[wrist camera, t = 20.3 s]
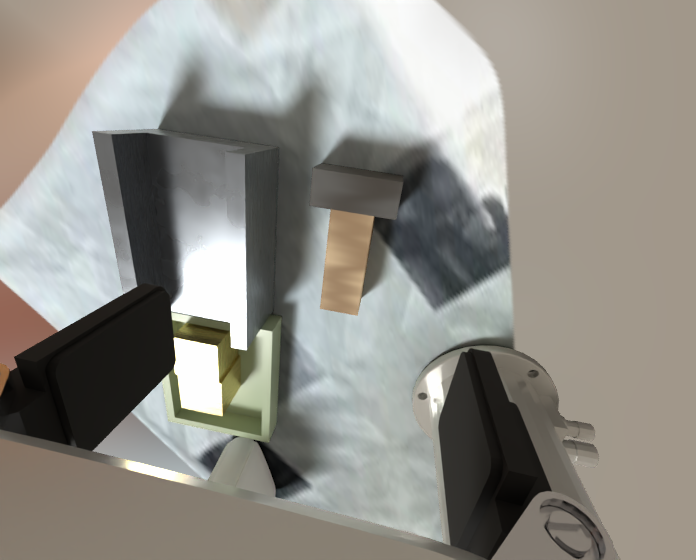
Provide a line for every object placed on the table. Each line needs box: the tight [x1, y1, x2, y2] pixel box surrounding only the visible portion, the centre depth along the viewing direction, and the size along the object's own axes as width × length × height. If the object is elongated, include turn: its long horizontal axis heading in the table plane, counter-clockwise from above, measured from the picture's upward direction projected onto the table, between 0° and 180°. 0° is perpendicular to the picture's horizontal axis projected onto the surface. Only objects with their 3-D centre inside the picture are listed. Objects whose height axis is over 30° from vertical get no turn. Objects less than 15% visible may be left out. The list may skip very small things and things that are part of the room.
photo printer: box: [208, 437, 276, 497], centre depth 35 cm, size 10×4×12 cm, turn 9°
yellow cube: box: [178, 355, 241, 416], centre depth 32 cm, size 4×4×4 cm
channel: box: [92, 129, 279, 350], centre depth 25 cm, size 9×14×6 cm
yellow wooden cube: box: [174, 323, 238, 383], centre depth 31 cm, size 4×4×4 cm
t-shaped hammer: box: [310, 163, 403, 315], centre depth 26 cm, size 6×3×10 cm
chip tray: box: [162, 311, 282, 443], centre depth 33 cm, size 11×14×2 cm
